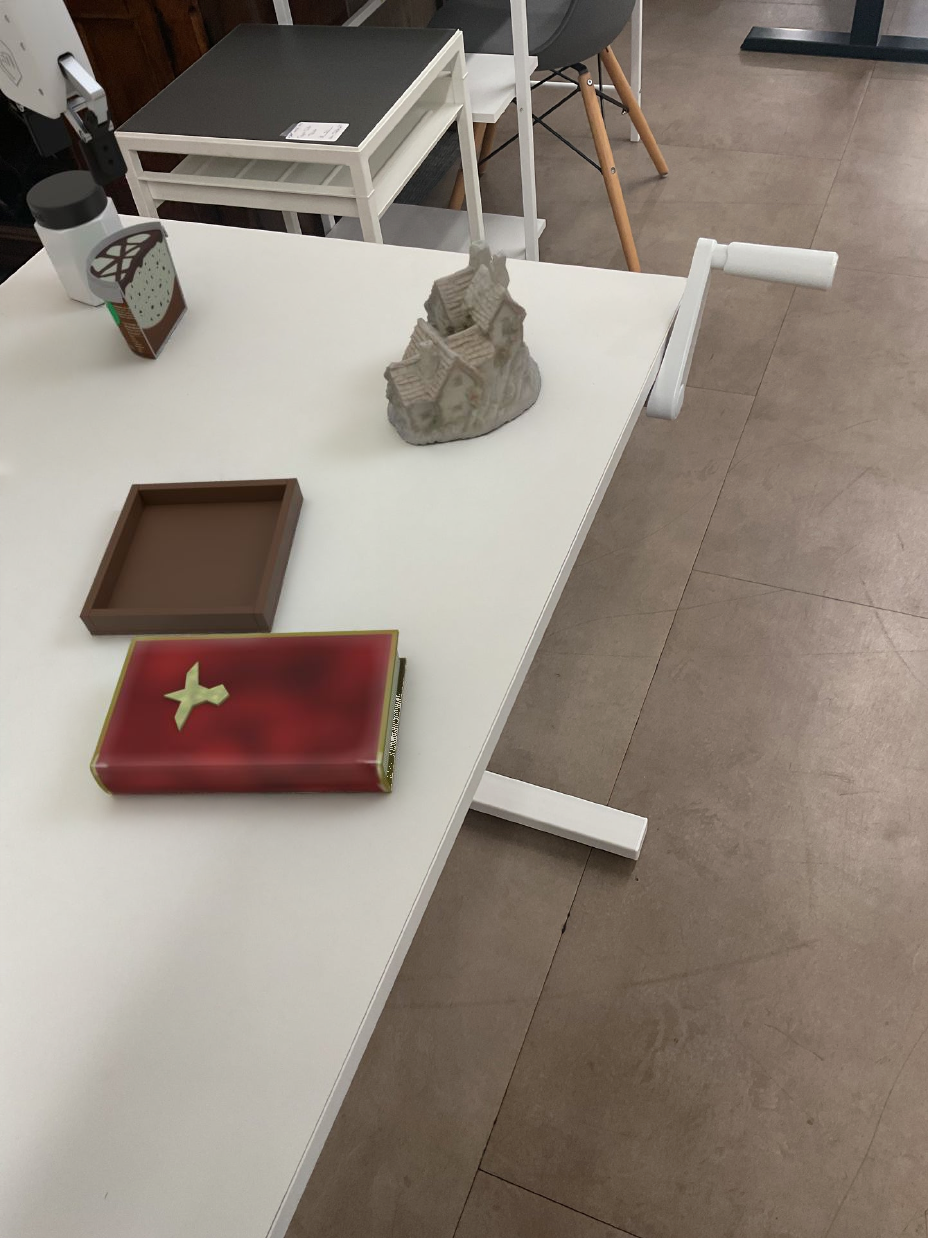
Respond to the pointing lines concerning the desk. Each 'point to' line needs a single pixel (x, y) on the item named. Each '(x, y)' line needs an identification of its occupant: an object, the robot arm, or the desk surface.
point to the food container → (138, 285)
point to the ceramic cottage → (464, 358)
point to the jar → (72, 226)
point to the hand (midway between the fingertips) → (84, 164)
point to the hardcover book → (253, 714)
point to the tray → (195, 558)
